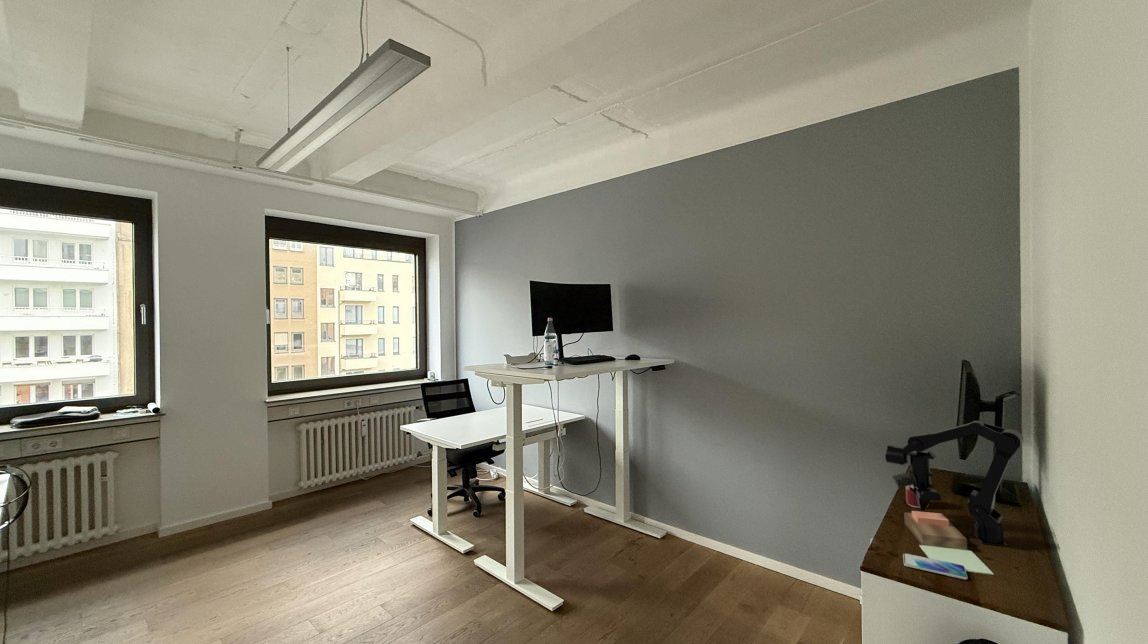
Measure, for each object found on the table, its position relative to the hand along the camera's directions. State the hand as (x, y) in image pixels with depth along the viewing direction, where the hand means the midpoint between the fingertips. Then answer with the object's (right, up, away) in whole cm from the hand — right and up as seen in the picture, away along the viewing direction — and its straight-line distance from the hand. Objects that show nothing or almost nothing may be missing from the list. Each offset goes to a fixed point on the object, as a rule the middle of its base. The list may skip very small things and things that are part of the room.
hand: (922, 510), depth 165 cm
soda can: (+11, -5, +16) cm, 20 cm away
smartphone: (-19, -5, -29) cm, 35 cm away
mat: (-9, -5, -25) cm, 27 cm away
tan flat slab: (-4, -5, -10) cm, 12 cm away
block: (-3, -1, -7) cm, 7 cm away
